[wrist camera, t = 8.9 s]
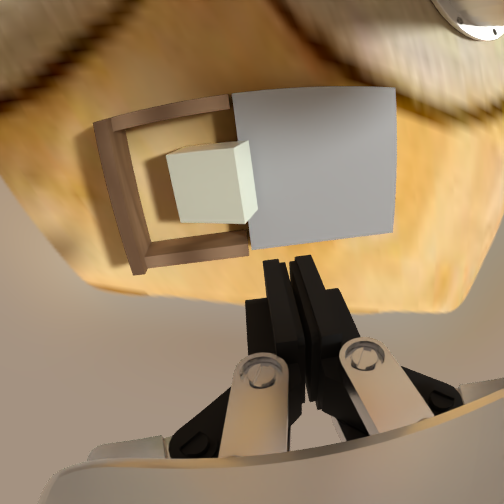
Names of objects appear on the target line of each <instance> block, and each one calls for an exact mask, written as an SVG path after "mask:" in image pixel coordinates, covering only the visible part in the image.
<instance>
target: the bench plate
mask: <svg viewBox="0 0 504 504" xmlns="http://www.w3.org/2000/svg"><path fill="white" fill-rule="evenodd" d="M232 99H233V107H234V115H235V123H236V130H237V138H238V141H245V140H249V147H250V154H251V161H252V169H253V176H254V183H255V191H256V198H257V205H258V210H257V211H256V212H255V213H254V214H253V216H252V217H251V218H250V219H249V220H248V224H249V232H250V240H251V247H252V250H256V249H264V248H272V247H280V246H288V245H296V244H304V243H312V242H320V241H328V240H336V239H344V238H352V237H360V236H368V235H376V234H384V233H392V232H393V223H394V210H395V193H396V165H397V121H396V94H395V88H390V87H362V86H328V87H300V88H284V89H271V90H260V91H250V92H241V93H233V94H232Z"/></svg>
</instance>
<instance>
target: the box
mask: <svg viewBox="0 0 504 504" xmlns="http://www.w3.org/2000/svg"><path fill="white" fill-rule="evenodd" d="M226 109H230V103H229V95H228V94H225V95H218V96H211V97H205V98H199V99H193V100H187V101H182V102H176V103H171V104H166V105H161V106H157V107H152V108H148V109H143V110H139V111H135V112H131V113H127V114H123V115H119V116H115V117H111V118H108V119H104V120H101V121H97V122H94V123H93V126H94V131H95V136H96V141H97V146H98V151H99V155H100V160H101V164H102V168H103V172H104V177H105V181H106V185H107V189H108V193H109V196H110V200H111V204H112V208H113V211H114V215H115V218H116V222H117V225H118V229H119V232H120V236H121V239H122V242H123V245H124V249H125V252H126V255H127V258H128V261H129V264H130V267H131V270H132V273H133V275H142V274H145V273H146V271H147V269H148V268H154V267H162V266H171V265H179V264H187V263H195V262H203V261H211V260H219V259H227V258H235V257H243V256H249V249H248V240H247V232H246V230H239V231H231V232H223V233H216V234H208V235H201V236H193V237H186V238H179V239H171V240H164V241H157V242H151V240H150V236H149V232H148V229H147V225H146V221H145V217H144V213H143V209H142V205H141V201H140V197H139V193H138V188H137V184H136V180H135V175H134V171H133V166H132V161H131V157H130V152H129V147H128V142H127V137H126V131H125V129H126V128H130V127H134V126H138V125H143V124H147V123H152V122H157V121H161V120H166V119H172V118H177V117H182V116H188V115H194V114H200V113H206V112H212V111H219V110H226Z"/></svg>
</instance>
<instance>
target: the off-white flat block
mask: <svg viewBox="0 0 504 504" xmlns="http://www.w3.org/2000/svg"><path fill="white" fill-rule="evenodd" d="M166 159H167V164H168V168H169V173H170V178H171V182H172V187H173V191H174V196H175V200H176V205H177V209H178V213H179V217H180V222H181V223H226V224H246V222H247V221H248V220H249V219H250V218H251V217H252V216H253V214H254V213H255V212H256V211H257V210H258V205H257V198H256V191H255V183H254V176H253V169H252V161H251V154H250V147H249V140H245V141H233V142H222V143H212V144H202V145H194V146H185V147H183V148H180V149H178V150H176V151H174V152H171V153H169V154H167V155H166Z"/></svg>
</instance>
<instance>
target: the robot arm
mask: <svg viewBox="0 0 504 504" xmlns="http://www.w3.org/2000/svg"><path fill="white" fill-rule="evenodd" d="M432 2H433V4H434V5H435V7H436V8H437V10H438V11H439V12H440V13H441V15H442V16H443V17H444V18H445V19H446V20H447V21H448V22H449V23H450V24H451V25H452V26H453V27H454V28H455V29H457V30H458V31H459V32H461V33H462V34H464V35H466V36H467V37H470V38H472V39H474V40H480V41H491V40H495V39H497V38H499V37H500V36H501V35H502V34H503V33H504V0H432ZM289 266H290V279H289V275H288V271H287V268H286V264H285V262H283V263H279V260H278V259H273V260H265V261H263V268H264V277H265V286H266V296H267V298H261V299H252V300H245V307H246V325H247V342H248V356H247V357H245V358H244V359H242V360H241V361H240V362H239V363H238V364H237V366H236V368H235V370H234V374H233V380H232V385H231V387H230V388H229V389H227V391H225V392H224V393H223V394H222V395H220V396H219V397H218V398H217V399H216V400H215V401H213V402H212V403H211V404H210V405H209V406H207V407H206V408H205V409H204V410H202V411H201V412H200V413H199V414H198V415H196V416H195V417H194V418H193V419H191V420H190V421H189V422H188V423H186V424H185V425H184V426H183V427H181V428H180V429H179V430H178V431H177V432H176V433H175V434H174V435H173V436H172V437H166V438H163V437H162V436H161V435H160V436H155V437H149V438H144V439H137V440H131V441H124V442H116V443H108V444H103V445H100V446H97V447H96V448H94V449H93V450H92V451H91V453H90V454H89V456H88V459H87V462H82V463H79V464H75V465H72V466H69V467H67V468H64V469H62V470H60V471H59V472H57V473H55V474H54V475H53V476H52V477H51V478H50V479H49V480H48V482H47V484H46V485H45V487H44V489H43V491H42V493H41V496H40V499H39V501H38V504H504V378H499V379H494V380H488V381H482V382H475V383H468V384H461V385H459V387H458V388H454V387H452V386H451V385H448V384H446V383H444V382H441V381H438V380H436V379H433V378H431V377H428V376H425V375H423V374H420V373H417V372H415V371H412V370H410V369H408V368H405V367H402V366H400V365H399V363H398V362H397V360H396V359H395V358H394V356H393V355H392V354H391V352H390V351H389V349H388V348H387V347H386V346H385V345H384V344H383V343H382V342H380V341H378V340H376V339H373V338H369V337H360V335H359V333H358V330H357V328H356V325H355V323H354V321H353V319H352V316H351V314H350V312H349V310H348V308H347V305H346V303H345V301H344V299H343V297H342V294H341V292H340V290H339V289H338V288H334V289H327V290H325V287H324V285H323V283H322V280H321V278H320V275H319V273H318V271H317V268H316V266H315V263H314V261H313V259H312V256H311V255H305V256H297V257H295V261H291V262H289ZM305 383H306V388H307V393H308V397H309V401H310V402H313V401H316V406H317V409H318V410H320V409H322V411H323V412H325V413H327V414H329V415H331V418H332V422H333V425H334V427H335V429H336V431H337V433H338V436H339V438H340V440H341V443H336V444H331V445H326V446H321V447H315V448H309V449H303V450H296V451H291V425H292V424H293V423H294V422H295V421H296V420H297V419H298V418H299V416H300V415H301V414H302V412H301V411H302V403H305Z"/></svg>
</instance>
